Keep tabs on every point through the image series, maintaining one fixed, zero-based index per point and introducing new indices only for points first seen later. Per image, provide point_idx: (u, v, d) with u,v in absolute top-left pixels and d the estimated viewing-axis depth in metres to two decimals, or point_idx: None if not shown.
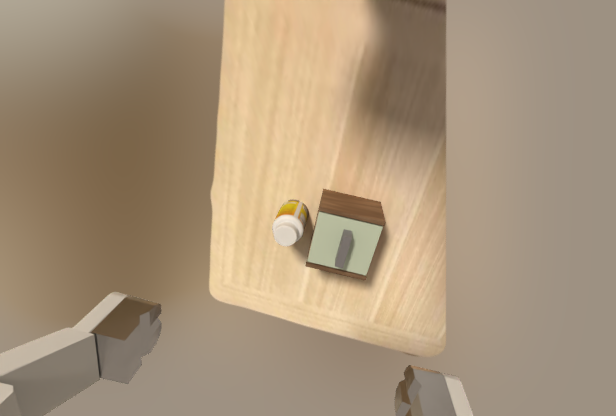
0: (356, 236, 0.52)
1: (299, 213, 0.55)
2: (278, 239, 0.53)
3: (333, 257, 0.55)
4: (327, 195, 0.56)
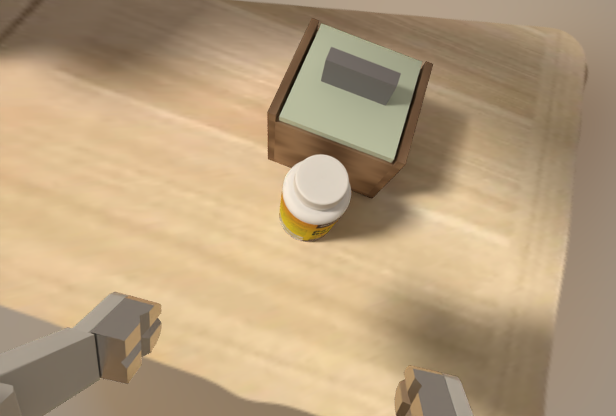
0: None
1: None
2: (329, 195, 0.22)
3: (383, 108, 0.27)
4: None
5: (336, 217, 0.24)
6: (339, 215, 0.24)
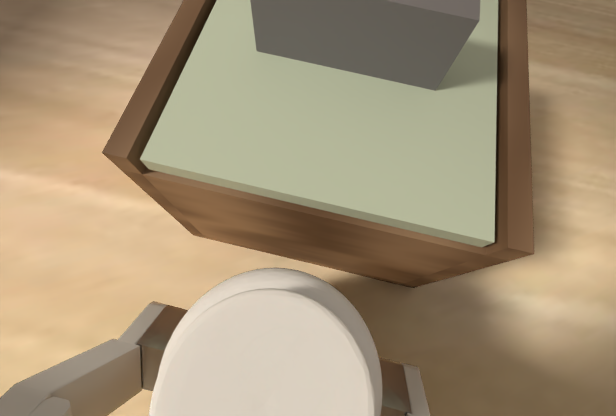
0: None
1: None
2: None
3: (432, 98, 0.10)
4: None
5: None
6: None
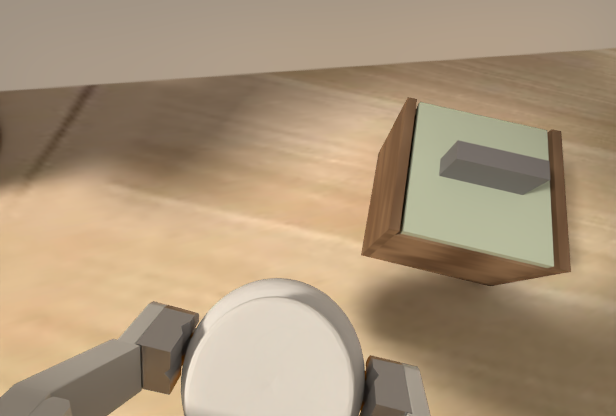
0: None
1: None
2: None
3: (521, 199, 0.22)
4: (370, 237, 0.26)
5: None
6: None
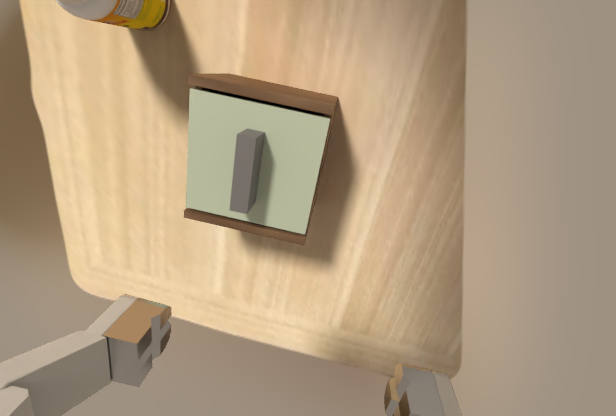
0: (276, 145, 0.24)
1: None
2: None
3: None
4: (228, 75, 0.28)
5: (58, 3, 0.23)
6: (62, 7, 0.23)
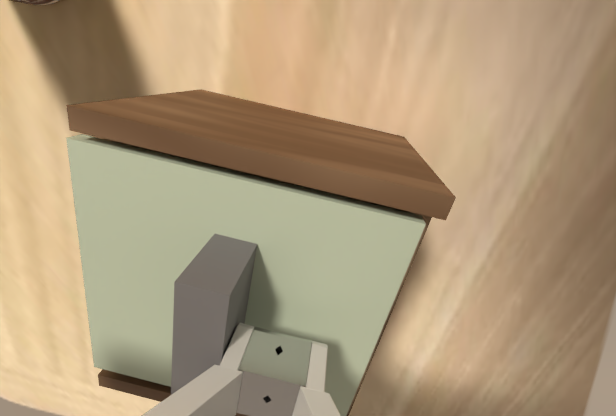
0: (284, 272, 0.10)
1: None
2: None
3: None
4: (193, 97, 0.14)
5: None
6: None
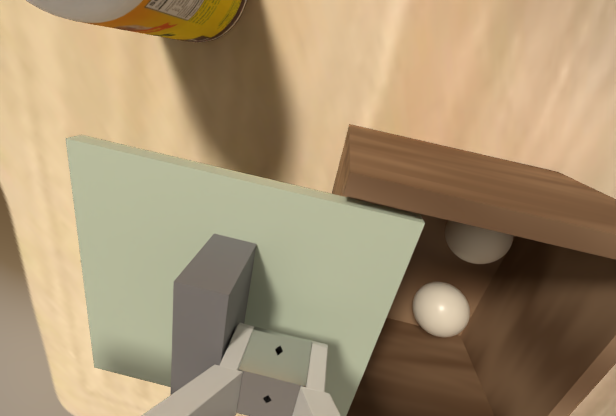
0: (283, 272, 0.10)
1: None
2: None
3: None
4: (370, 138, 0.14)
5: None
6: None
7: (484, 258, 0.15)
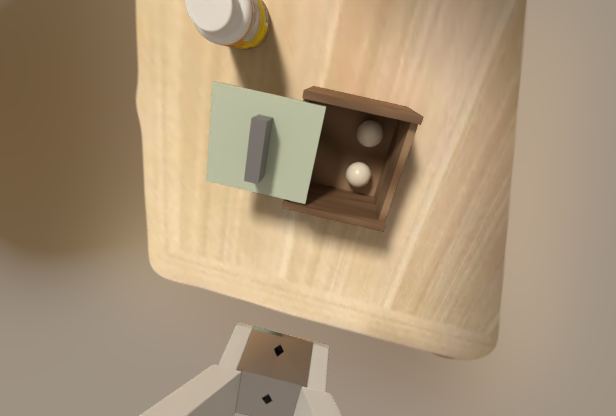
0: (282, 128, 0.30)
1: None
2: (195, 13, 0.25)
3: None
4: (319, 89, 0.33)
5: None
6: (202, 34, 0.28)
7: (369, 141, 0.34)
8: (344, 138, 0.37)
